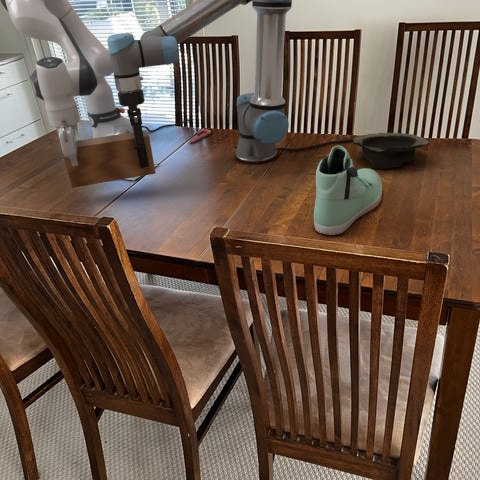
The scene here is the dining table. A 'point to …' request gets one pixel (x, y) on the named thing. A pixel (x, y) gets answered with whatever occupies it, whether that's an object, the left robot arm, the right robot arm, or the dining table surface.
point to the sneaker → (343, 192)
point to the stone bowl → (389, 148)
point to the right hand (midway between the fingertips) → (143, 162)
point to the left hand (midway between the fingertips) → (75, 160)
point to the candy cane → (200, 135)
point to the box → (108, 160)
